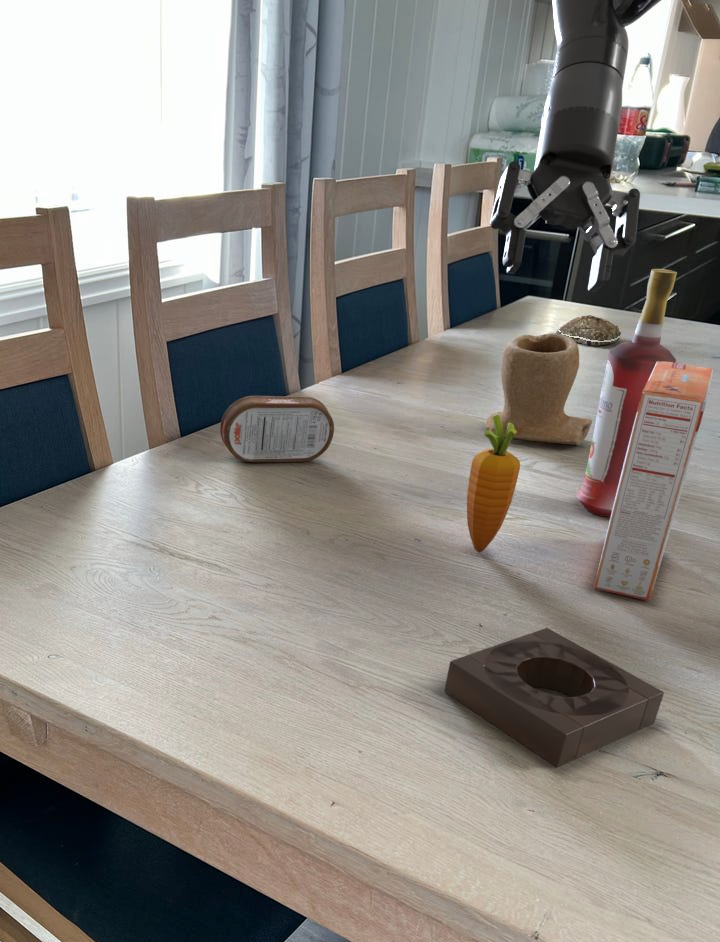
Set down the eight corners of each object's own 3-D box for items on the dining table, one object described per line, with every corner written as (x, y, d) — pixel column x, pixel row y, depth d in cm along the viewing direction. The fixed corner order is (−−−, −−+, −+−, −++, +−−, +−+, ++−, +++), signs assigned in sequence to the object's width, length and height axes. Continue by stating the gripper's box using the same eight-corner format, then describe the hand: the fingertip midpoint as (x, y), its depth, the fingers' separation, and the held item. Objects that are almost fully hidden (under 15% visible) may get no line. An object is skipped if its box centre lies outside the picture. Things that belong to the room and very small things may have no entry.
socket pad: (539, 656, 87) (547, 627, 86) (654, 723, 79) (664, 692, 77) (443, 691, 81) (449, 660, 80) (557, 767, 73) (565, 735, 71)
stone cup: (479, 444, 141) (499, 338, 133) (486, 421, 151) (505, 322, 143) (588, 460, 137) (614, 352, 130) (588, 436, 147) (612, 334, 140)
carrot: (503, 564, 104) (531, 428, 97) (456, 558, 105) (481, 422, 98) (500, 545, 109) (527, 414, 101) (455, 540, 109) (479, 409, 102)
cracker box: (607, 542, 111) (655, 358, 101) (662, 554, 109) (718, 367, 99) (588, 589, 100) (640, 387, 90) (649, 603, 98) (710, 398, 88)
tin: (326, 455, 132) (333, 394, 128) (333, 463, 130) (340, 401, 125) (218, 457, 129) (221, 394, 125) (222, 465, 126) (226, 401, 122)
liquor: (567, 496, 124) (622, 263, 110) (625, 501, 124) (688, 268, 110) (578, 517, 118) (638, 273, 104) (640, 523, 117) (708, 279, 103)
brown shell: (627, 341, 209) (633, 317, 207) (601, 349, 201) (607, 324, 199) (572, 330, 217) (577, 307, 214) (545, 336, 209) (550, 312, 206)
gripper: (525, 88, 94) (498, 247, 93) (665, 120, 95) (640, 277, 94) (499, 133, 102) (474, 281, 101) (629, 163, 103) (605, 309, 101)
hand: (554, 279), depth 97 cm, fingers open, 8 cm apart
